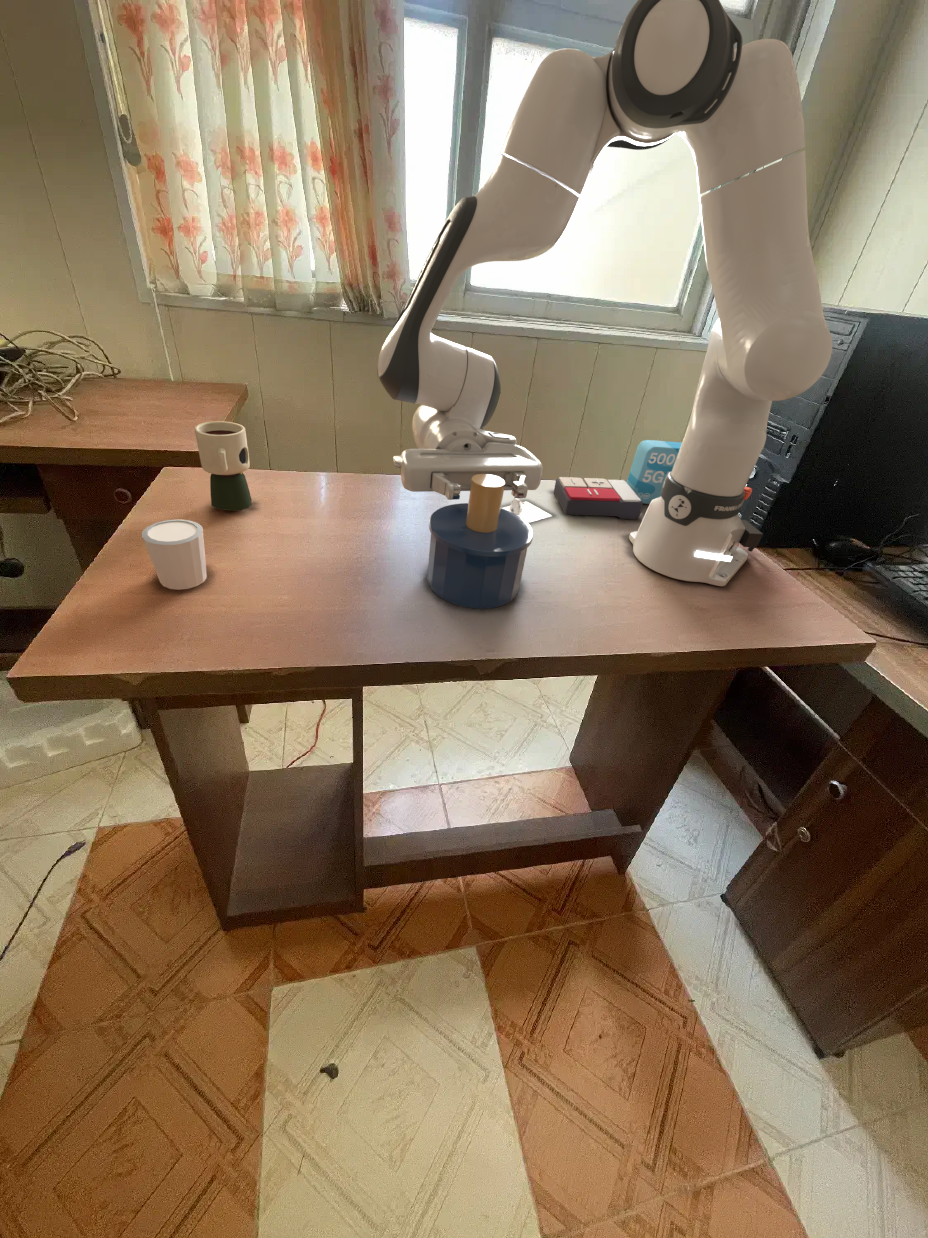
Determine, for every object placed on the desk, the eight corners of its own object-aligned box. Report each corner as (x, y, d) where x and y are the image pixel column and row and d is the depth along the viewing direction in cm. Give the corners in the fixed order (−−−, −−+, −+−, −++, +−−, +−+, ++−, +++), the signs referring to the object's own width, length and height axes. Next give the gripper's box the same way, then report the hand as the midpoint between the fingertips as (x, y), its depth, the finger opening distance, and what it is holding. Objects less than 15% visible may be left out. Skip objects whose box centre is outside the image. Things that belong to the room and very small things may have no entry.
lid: (484, 504, 81) (492, 454, 76) (552, 545, 72) (565, 491, 68) (407, 523, 72) (411, 468, 68) (474, 571, 64) (483, 512, 60)
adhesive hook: (506, 512, 98) (509, 496, 96) (516, 509, 100) (519, 494, 98) (517, 518, 97) (520, 503, 95) (527, 516, 98) (530, 500, 96)
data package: (630, 503, 109) (648, 446, 102) (622, 494, 113) (639, 438, 106) (682, 506, 111) (703, 450, 104) (672, 497, 115) (693, 442, 108)
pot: (477, 551, 85) (485, 503, 80) (536, 591, 77) (548, 540, 72) (409, 572, 77) (413, 520, 72) (467, 619, 69) (475, 564, 64)
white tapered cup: (159, 597, 66) (145, 548, 61) (150, 570, 70) (137, 523, 66) (217, 585, 69) (208, 538, 65) (205, 560, 73) (196, 515, 69)
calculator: (556, 474, 107) (626, 477, 109) (552, 494, 110) (621, 496, 111) (568, 496, 98) (645, 499, 100) (564, 517, 101) (639, 519, 102)
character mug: (256, 520, 84) (245, 440, 77) (207, 522, 82) (191, 439, 74) (254, 492, 92) (245, 417, 85) (210, 493, 90) (196, 416, 82)
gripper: (390, 433, 73) (412, 470, 63) (523, 435, 80) (563, 470, 69) (389, 476, 77) (409, 518, 67) (516, 475, 83) (552, 513, 73)
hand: (489, 493), depth 68 cm, fingers open, 8 cm apart
